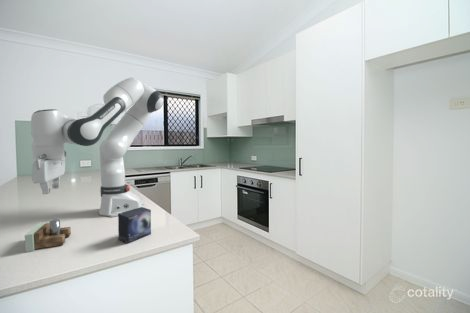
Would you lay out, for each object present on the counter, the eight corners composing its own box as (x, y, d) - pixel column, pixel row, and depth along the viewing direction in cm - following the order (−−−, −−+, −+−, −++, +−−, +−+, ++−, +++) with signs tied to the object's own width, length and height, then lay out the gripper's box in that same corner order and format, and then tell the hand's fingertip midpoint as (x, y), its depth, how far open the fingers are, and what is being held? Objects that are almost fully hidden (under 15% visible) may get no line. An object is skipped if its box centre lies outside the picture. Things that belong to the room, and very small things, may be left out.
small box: (127, 244, 81) (126, 216, 80) (117, 240, 84) (116, 213, 84) (152, 234, 90) (151, 209, 89) (142, 230, 93) (141, 206, 93)
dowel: (61, 239, 85) (60, 218, 84) (59, 242, 82) (58, 221, 81) (52, 240, 84) (51, 220, 83) (49, 243, 81) (48, 222, 80)
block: (70, 233, 89) (70, 220, 88) (62, 244, 80) (62, 230, 79) (45, 237, 86) (45, 223, 85) (34, 249, 76) (33, 233, 76)
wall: (47, 236, 86) (46, 222, 86) (33, 251, 75) (32, 234, 75) (40, 237, 86) (39, 222, 85) (25, 252, 75) (24, 235, 74)
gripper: (48, 155, 72) (51, 196, 73) (67, 152, 91) (69, 185, 92) (24, 156, 70) (27, 198, 71) (48, 152, 89) (51, 186, 90)
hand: (51, 190), depth 82 cm, fingers open, 8 cm apart
